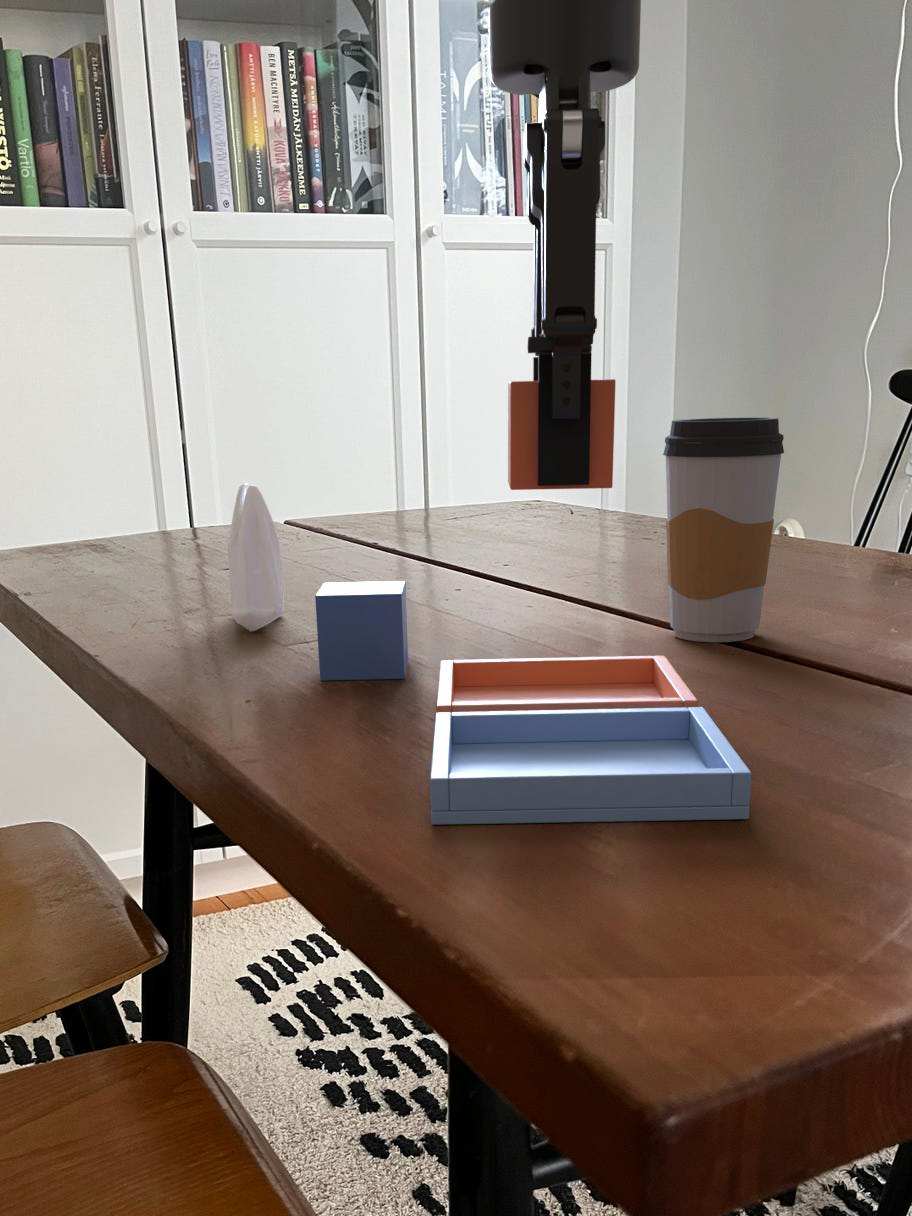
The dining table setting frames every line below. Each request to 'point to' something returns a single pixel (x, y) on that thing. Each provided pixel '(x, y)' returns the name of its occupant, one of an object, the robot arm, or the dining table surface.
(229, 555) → the white pointed piece
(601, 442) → the terracotta block
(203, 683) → the dining table surface
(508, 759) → the blue tray
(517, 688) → the terracotta tray
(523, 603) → the dining table surface
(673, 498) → the coffee cup
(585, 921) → the dining table surface
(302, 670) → the dining table surface
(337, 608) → the blue block
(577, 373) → the robot arm
